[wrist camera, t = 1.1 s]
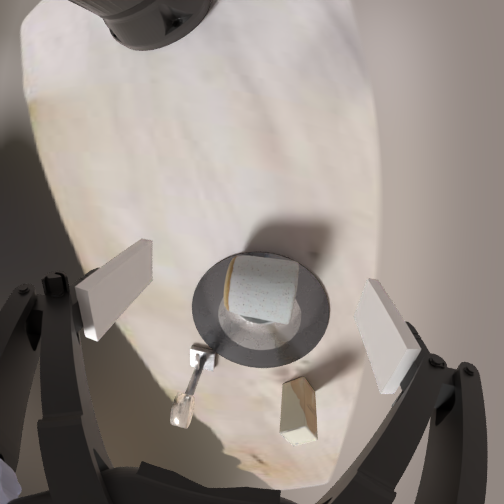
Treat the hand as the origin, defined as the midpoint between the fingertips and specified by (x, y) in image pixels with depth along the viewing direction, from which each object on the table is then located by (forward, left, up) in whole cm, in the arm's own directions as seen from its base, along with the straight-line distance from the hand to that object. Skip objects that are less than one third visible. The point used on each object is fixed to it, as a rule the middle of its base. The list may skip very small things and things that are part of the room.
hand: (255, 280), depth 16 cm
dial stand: (+25, -7, -19) cm, 32 cm away
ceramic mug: (+10, +1, -19) cm, 21 cm away
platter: (+15, +1, -19) cm, 24 cm away
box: (+29, +10, -19) cm, 36 cm away
